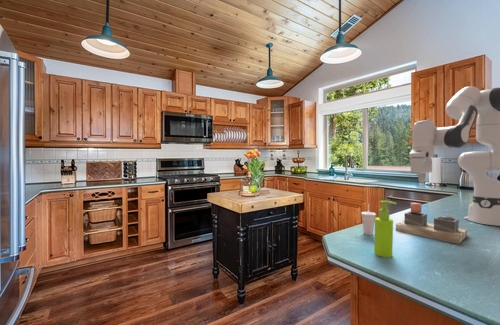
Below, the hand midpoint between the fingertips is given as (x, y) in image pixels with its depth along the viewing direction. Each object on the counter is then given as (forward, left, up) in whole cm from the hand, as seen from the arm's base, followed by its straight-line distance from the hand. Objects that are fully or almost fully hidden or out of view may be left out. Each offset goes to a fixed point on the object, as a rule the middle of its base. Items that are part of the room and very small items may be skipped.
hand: (421, 182), depth 119 cm
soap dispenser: (+43, +1, -24) cm, 49 cm away
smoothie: (+24, -14, -24) cm, 36 cm away
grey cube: (0, +10, -19) cm, 21 cm away
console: (0, +4, -24) cm, 24 cm away
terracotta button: (0, -2, -15) cm, 15 cm away
